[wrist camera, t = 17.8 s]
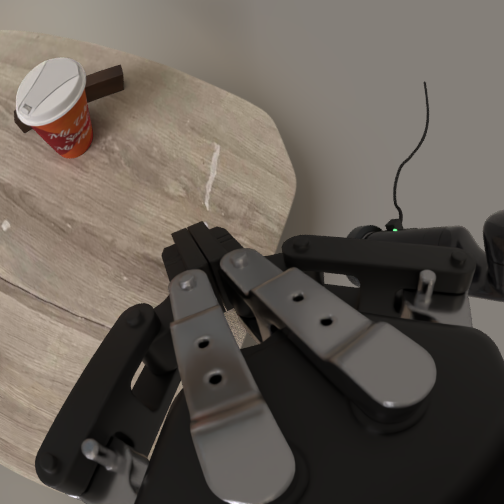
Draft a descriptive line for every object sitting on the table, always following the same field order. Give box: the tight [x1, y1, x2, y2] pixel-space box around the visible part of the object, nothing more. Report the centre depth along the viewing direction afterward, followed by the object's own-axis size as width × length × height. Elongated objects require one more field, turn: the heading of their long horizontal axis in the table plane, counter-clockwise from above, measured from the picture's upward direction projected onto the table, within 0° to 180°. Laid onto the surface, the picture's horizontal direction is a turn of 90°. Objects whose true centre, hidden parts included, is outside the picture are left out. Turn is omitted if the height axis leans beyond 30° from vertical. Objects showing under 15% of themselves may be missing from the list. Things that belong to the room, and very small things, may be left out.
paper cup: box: [16, 57, 93, 158], centre depth 22 cm, size 8×8×14 cm
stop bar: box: [14, 65, 124, 133], centre depth 26 cm, size 16×2×4 cm, turn 113°
